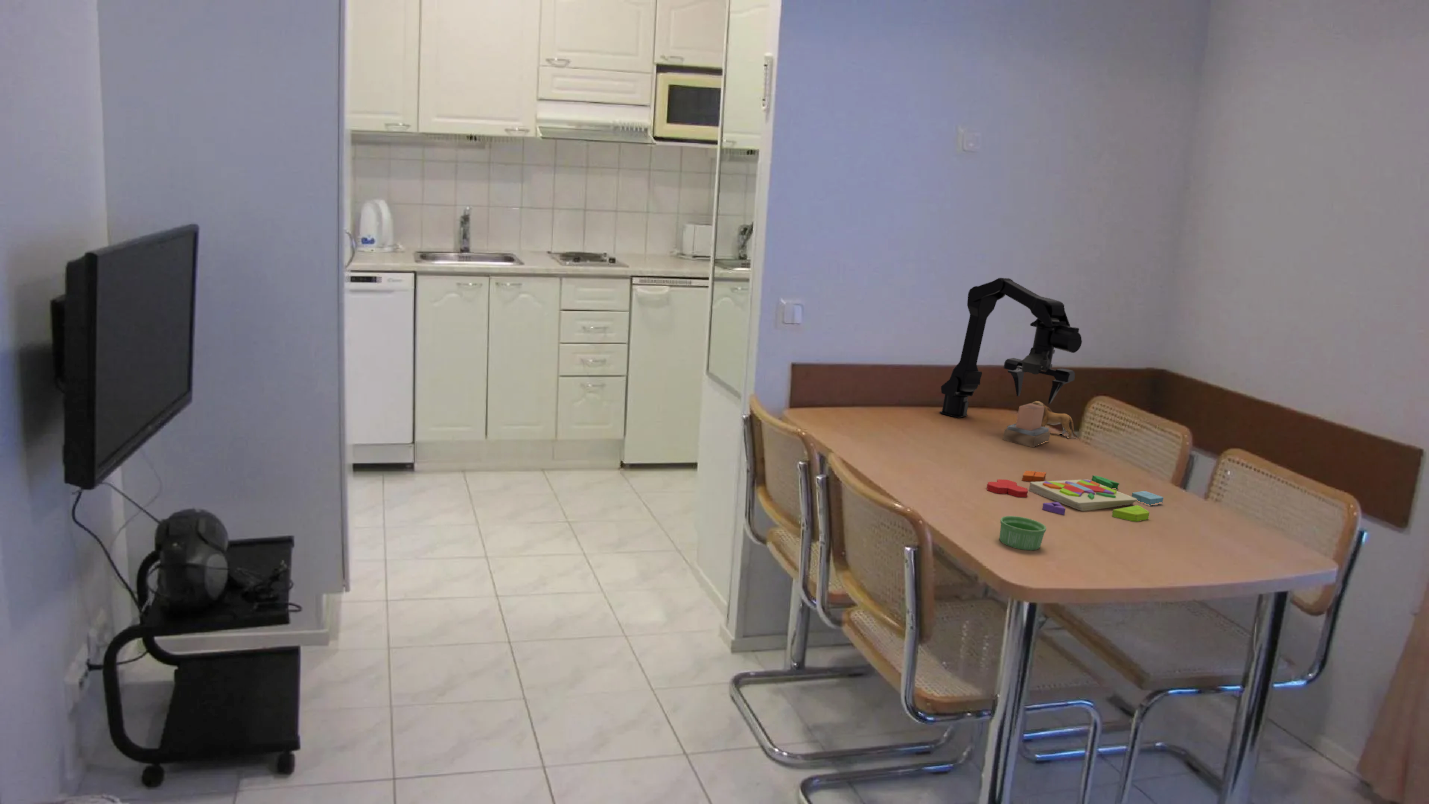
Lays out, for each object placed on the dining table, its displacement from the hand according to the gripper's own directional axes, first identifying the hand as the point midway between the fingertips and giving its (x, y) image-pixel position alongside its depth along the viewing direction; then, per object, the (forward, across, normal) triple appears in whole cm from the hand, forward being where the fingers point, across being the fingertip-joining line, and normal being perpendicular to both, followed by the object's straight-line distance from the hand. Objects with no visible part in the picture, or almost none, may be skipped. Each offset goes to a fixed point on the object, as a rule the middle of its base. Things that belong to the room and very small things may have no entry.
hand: (1033, 399), depth 324 cm
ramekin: (+12, +35, -94) cm, 101 cm away
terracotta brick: (+8, 0, 0) cm, 8 cm away
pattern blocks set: (+13, +31, -46) cm, 57 cm away
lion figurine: (+12, +1, +17) cm, 21 cm away
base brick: (+12, 0, 0) cm, 12 cm away
